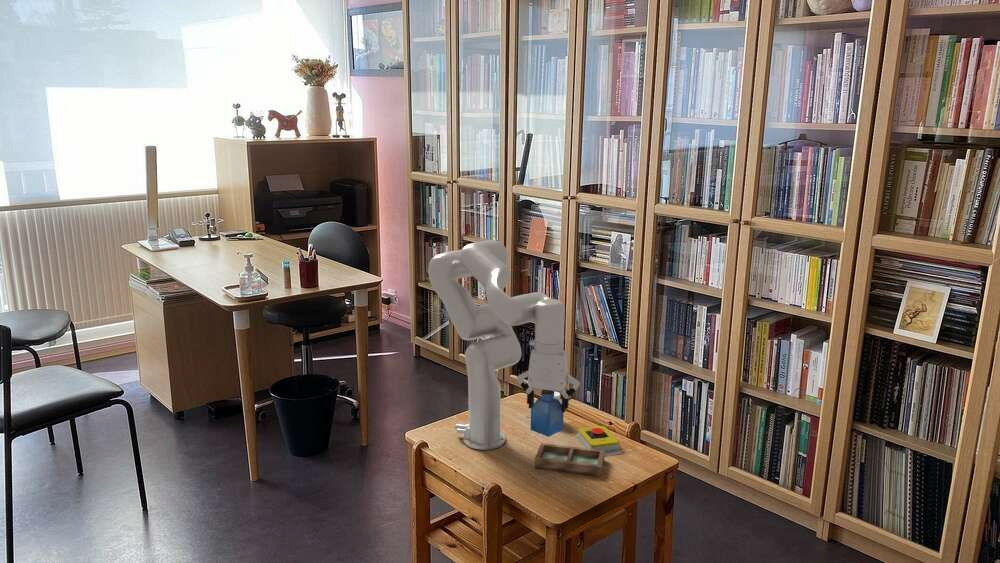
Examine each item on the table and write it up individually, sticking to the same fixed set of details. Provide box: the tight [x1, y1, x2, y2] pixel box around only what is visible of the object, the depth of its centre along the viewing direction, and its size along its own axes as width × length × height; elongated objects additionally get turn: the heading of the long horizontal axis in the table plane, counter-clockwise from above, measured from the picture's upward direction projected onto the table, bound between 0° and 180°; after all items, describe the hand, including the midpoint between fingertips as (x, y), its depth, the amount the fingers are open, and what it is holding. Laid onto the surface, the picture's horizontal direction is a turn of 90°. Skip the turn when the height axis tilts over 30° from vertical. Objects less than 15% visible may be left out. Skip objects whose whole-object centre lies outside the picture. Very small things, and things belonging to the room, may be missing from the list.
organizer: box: [533, 442, 605, 478], centre depth 203 cm, size 18×10×3 cm, turn 77°
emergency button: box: [575, 425, 623, 457], centre depth 215 cm, size 9×4×15 cm
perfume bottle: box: [530, 390, 565, 438], centre depth 192 cm, size 6×6×12 cm
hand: (547, 408), depth 192 cm, fingers closed on perfume bottle, 8 cm apart
